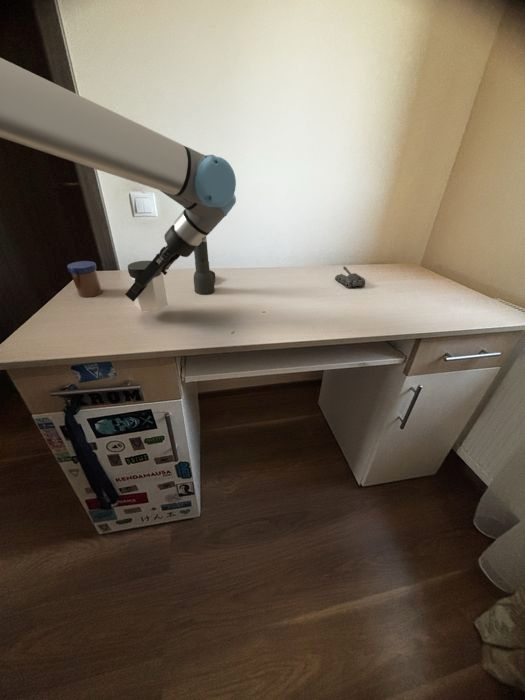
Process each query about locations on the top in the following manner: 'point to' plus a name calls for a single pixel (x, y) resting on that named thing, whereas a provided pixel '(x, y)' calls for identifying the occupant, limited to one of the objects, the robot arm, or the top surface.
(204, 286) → the flashlight
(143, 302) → the jar
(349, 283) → the tank toy
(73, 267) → the lid
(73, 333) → the top surface
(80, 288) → the jam jar
